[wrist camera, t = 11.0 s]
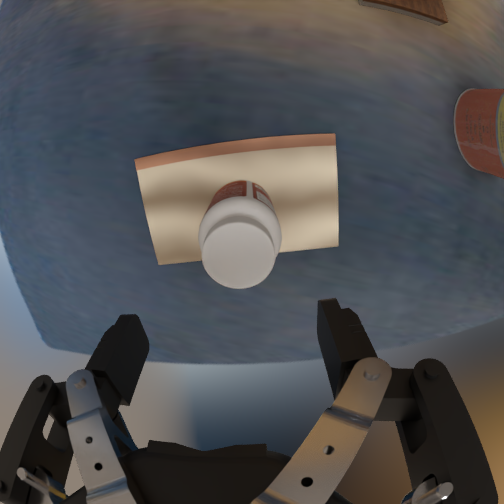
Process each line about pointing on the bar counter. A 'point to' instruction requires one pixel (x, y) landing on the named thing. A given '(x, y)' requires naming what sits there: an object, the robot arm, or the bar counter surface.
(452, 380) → the robot arm
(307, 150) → the board
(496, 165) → the canned food
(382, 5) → the white square tower
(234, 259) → the pill bottle
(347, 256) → the bar counter surface
